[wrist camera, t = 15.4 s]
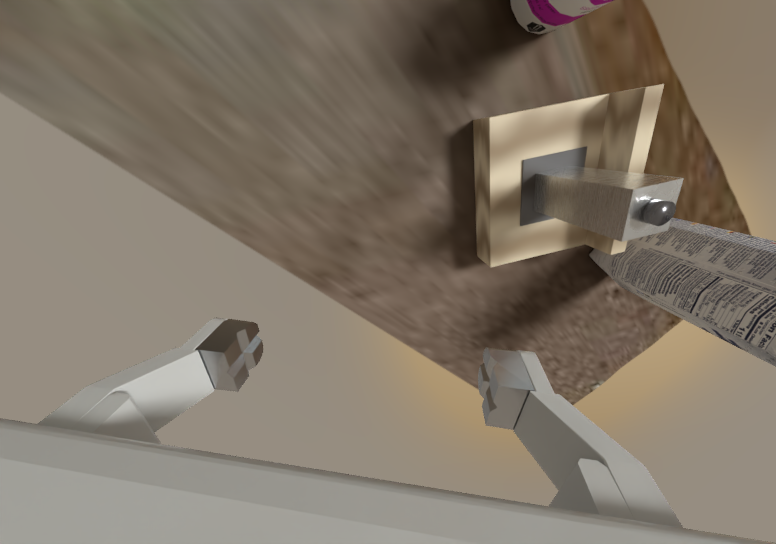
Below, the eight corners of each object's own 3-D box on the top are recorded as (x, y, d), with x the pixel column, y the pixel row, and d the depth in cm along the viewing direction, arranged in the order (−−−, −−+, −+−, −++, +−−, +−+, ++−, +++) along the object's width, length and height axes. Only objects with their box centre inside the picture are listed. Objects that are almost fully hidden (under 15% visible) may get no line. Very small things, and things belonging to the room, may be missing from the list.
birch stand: (472, 120, 33) (510, 114, 26) (595, 95, 34) (664, 83, 27) (477, 256, 41) (506, 280, 34) (576, 232, 42) (624, 251, 35)
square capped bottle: (536, 173, 33) (646, 191, 21) (571, 165, 33) (698, 179, 21) (533, 210, 35) (632, 245, 23) (566, 203, 35) (680, 234, 24)
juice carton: (578, 256, 44) (867, 394, 20) (631, 202, 42) (1035, 286, 18) (606, 282, 48) (881, 426, 24) (656, 233, 45) (1025, 339, 21)
